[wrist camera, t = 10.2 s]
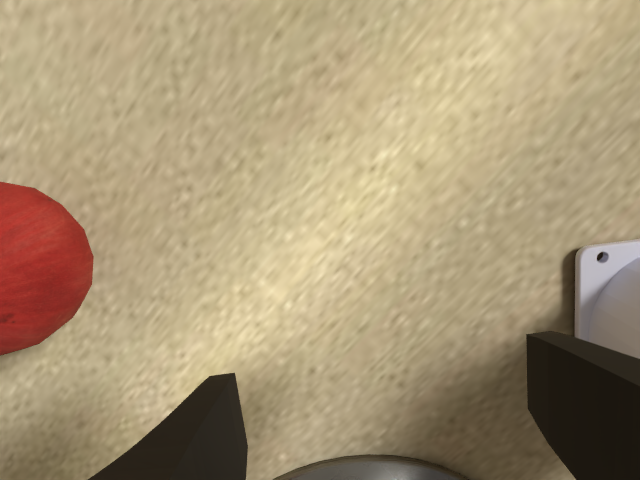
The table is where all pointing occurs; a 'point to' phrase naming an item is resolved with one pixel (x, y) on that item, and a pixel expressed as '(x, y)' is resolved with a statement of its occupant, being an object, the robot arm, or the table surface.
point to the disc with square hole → (372, 469)
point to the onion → (38, 267)
